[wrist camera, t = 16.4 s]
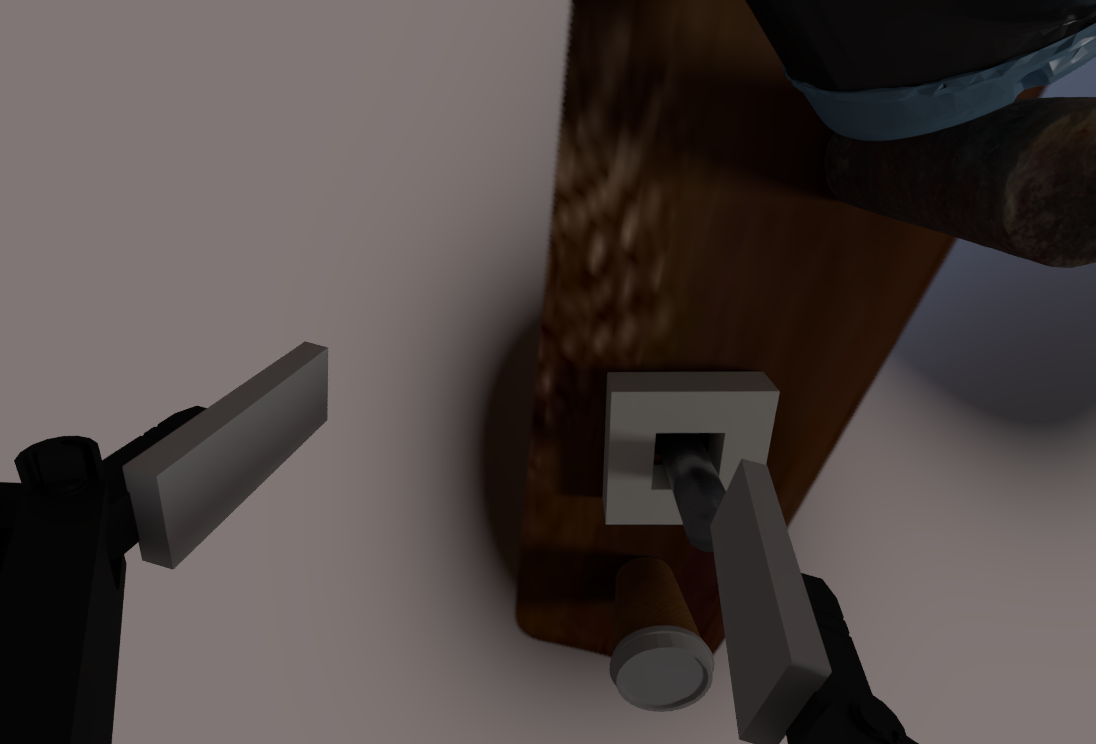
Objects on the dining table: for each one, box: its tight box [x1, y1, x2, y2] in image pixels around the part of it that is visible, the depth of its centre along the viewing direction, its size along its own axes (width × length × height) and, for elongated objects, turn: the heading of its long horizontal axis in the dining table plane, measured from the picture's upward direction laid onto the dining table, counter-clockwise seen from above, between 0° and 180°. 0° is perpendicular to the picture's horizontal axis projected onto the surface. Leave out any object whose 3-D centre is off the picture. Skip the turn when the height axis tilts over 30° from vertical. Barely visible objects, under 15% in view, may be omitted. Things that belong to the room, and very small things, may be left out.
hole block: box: [603, 371, 780, 524], centre depth 50 cm, size 14×14×4 cm
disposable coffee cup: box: [610, 557, 714, 712], centre depth 54 cm, size 10×10×12 cm
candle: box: [824, 97, 1096, 268], centre depth 32 cm, size 8×7×20 cm
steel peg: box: [656, 433, 726, 552], centre depth 46 cm, size 4×4×13 cm
